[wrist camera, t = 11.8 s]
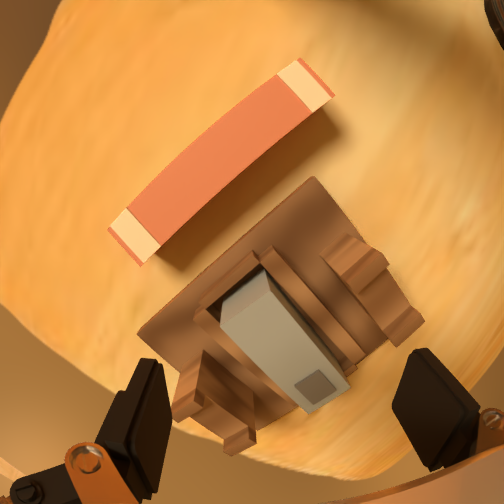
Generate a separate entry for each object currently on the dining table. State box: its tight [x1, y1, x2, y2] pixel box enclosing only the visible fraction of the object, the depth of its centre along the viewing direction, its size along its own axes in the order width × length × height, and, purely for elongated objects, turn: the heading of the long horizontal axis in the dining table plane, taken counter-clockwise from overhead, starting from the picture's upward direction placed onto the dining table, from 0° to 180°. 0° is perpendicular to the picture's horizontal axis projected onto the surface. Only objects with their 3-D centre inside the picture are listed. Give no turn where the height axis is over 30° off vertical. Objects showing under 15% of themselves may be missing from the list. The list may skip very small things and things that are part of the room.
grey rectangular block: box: [220, 268, 351, 414], centre depth 25 cm, size 12×4×6 cm, turn 38°
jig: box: [137, 176, 425, 456], centre depth 24 cm, size 18×22×9 cm
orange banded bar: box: [107, 58, 335, 267], centre depth 23 cm, size 4×20×5 cm, turn 131°
